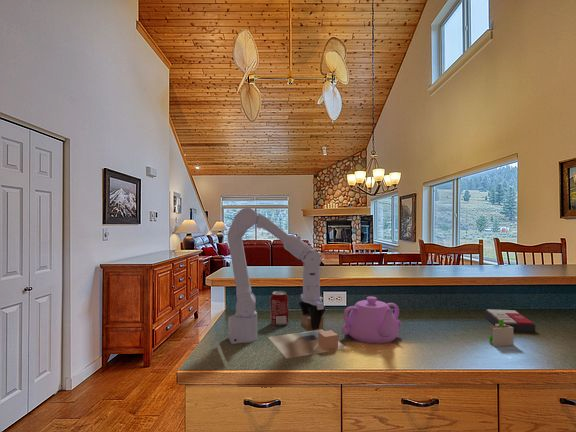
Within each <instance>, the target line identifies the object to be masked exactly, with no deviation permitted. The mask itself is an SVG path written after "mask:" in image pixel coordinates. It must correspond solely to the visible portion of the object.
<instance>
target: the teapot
mask: <svg viewBox="0 0 576 432" xmlns="http://www.w3.org/2000/svg"><path fill="white" fill-rule="evenodd" d="M390 307H393V308H390ZM348 313H349V314H348ZM399 314H400V308H399V306H398V305H397V304H396V303H394V302H388V303H386V302H384V301H381V300H378V297H376V296H370V295H369V296H366V299H363V300H359V301H357V302H356V303H355V304H354V305H351V306H348V307H346V308H345V309H344V311H343V319H344V323H345V324H344V325H342V327H341V329H340V330H341V333H342V334H344V335H349V336H350V337H351V338H353V339H354V340H356V341H359V342H362V343H367V344H386V343H392V342H393V341H394V340H395V339H396V338H397V337H398V335H399V333H400V330H399V329H400V328H401V327H402V323H401V321H400V320H399V316H400V315H399Z"/></svg>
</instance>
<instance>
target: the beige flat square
mask: <svg viewBox="0 0 576 432" xmlns="http://www.w3.org/2000/svg"><path fill="white" fill-rule="evenodd" d="M322 331H324V329H321V330H314V331H302V332H294V333H288V334H282V335H274V336H268V337H267V338H268V339H269V340H270V341H271V342H272V344H273V345H274V346H275V347H276V349H277V350H278V351H279V352H280V354H282V356H283V357H284V358H285V359H286V360H287V359H292V358H298V357H304V356H309V355H310V356H312V355H317V354H322V353H328V352H329V353H330V352H333V351H340V350H346V349H348V347H347V346H345V344H343V343H341V342H340V341H339V340H338V348H335V349H329V350H324V349H323V348H322V347H320V346H319V345H318V332H322Z"/></svg>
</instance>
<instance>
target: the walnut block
mask: <svg viewBox="0 0 576 432" xmlns="http://www.w3.org/2000/svg"><path fill="white" fill-rule="evenodd" d="M300 321H301V322H300V326H301V328H303V329H304V330H305V331H306V332H308V331H315V330H324V317H323V316H322V318H321V321H320V326H319V329H312V324H311V317H310V314H303V313H302V314H301V315H300Z"/></svg>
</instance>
